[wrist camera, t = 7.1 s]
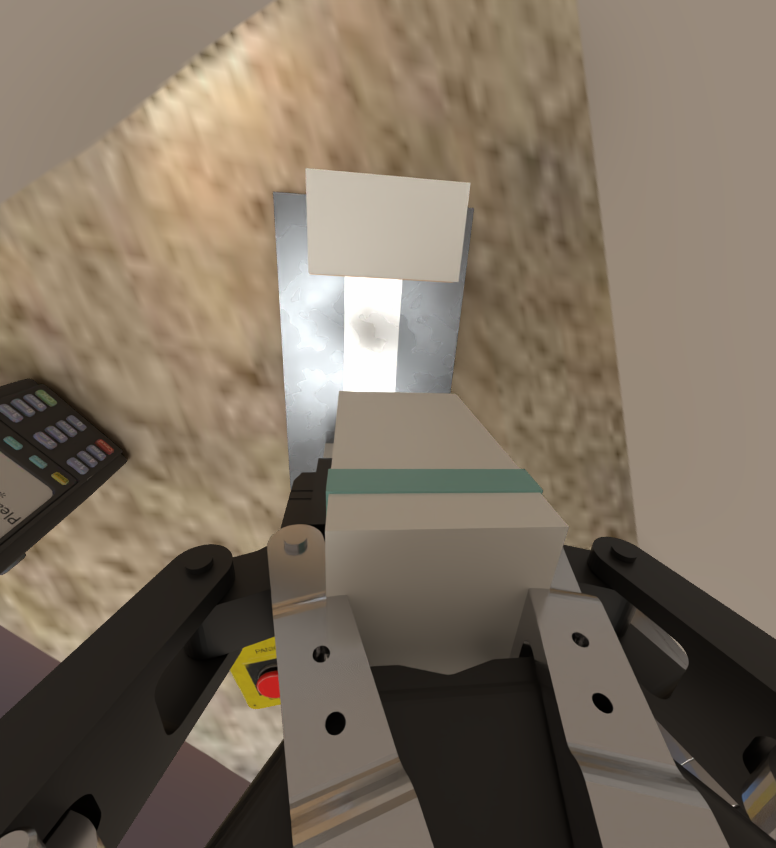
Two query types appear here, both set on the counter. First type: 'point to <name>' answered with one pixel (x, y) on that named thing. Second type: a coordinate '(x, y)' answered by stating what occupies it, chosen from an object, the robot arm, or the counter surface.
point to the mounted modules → (384, 227)
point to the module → (432, 531)
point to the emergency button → (258, 674)
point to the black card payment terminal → (45, 465)
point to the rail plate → (354, 335)
